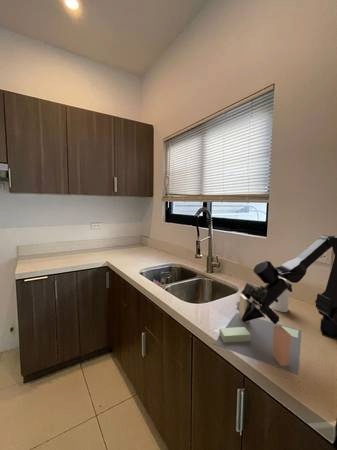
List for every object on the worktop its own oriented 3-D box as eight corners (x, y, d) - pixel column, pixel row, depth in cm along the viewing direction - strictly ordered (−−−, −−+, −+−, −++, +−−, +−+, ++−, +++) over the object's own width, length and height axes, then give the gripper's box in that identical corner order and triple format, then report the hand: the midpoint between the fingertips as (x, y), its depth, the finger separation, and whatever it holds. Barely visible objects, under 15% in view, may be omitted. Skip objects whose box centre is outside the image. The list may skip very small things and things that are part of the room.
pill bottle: (271, 303, 113) (273, 275, 112) (289, 308, 109) (291, 278, 107) (268, 309, 107) (270, 279, 106) (287, 314, 102) (288, 283, 101)
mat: (301, 331, 88) (301, 330, 88) (297, 376, 65) (297, 374, 65) (236, 313, 102) (236, 312, 102) (213, 345, 79) (213, 343, 79)
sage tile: (244, 327, 85) (219, 328, 84) (250, 334, 80) (224, 335, 79) (244, 333, 86) (219, 334, 85) (250, 340, 81) (224, 342, 80)
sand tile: (244, 315, 99) (245, 294, 98) (249, 321, 94) (250, 299, 93) (238, 316, 99) (239, 294, 98) (243, 322, 94) (244, 299, 93)
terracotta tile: (279, 354, 73) (280, 326, 72) (288, 365, 68) (290, 334, 68) (272, 355, 73) (273, 326, 72) (281, 366, 68) (283, 335, 67)
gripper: (246, 269, 91) (219, 296, 91) (272, 285, 72) (239, 319, 72) (263, 287, 92) (237, 313, 92) (293, 308, 74) (260, 341, 74)
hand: (242, 320), depth 82 cm, fingers closed
